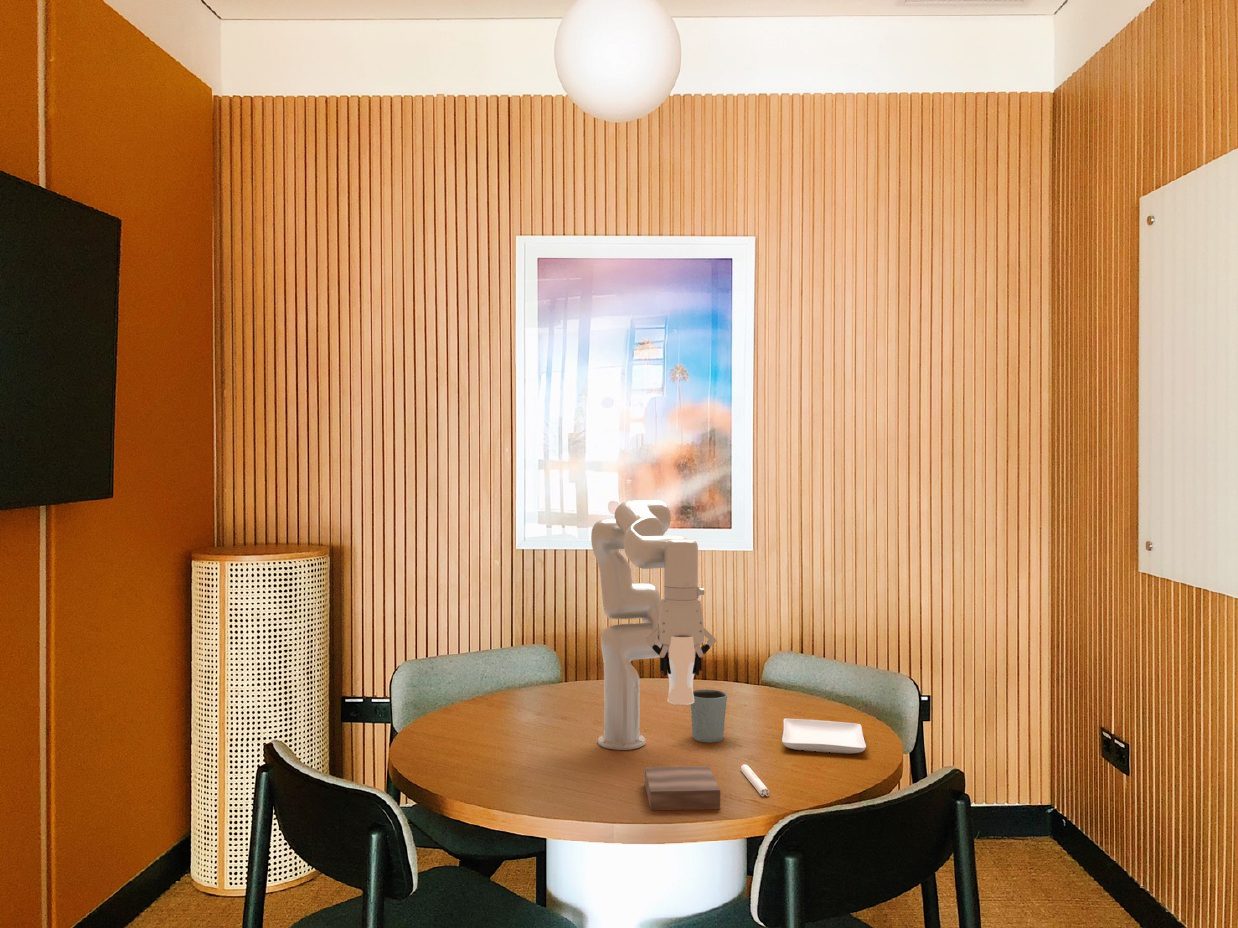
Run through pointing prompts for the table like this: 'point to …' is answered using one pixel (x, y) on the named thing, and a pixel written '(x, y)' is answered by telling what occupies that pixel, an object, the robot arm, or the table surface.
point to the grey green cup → (708, 715)
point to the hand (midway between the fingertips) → (680, 673)
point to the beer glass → (681, 670)
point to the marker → (754, 780)
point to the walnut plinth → (681, 788)
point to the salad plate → (823, 736)
